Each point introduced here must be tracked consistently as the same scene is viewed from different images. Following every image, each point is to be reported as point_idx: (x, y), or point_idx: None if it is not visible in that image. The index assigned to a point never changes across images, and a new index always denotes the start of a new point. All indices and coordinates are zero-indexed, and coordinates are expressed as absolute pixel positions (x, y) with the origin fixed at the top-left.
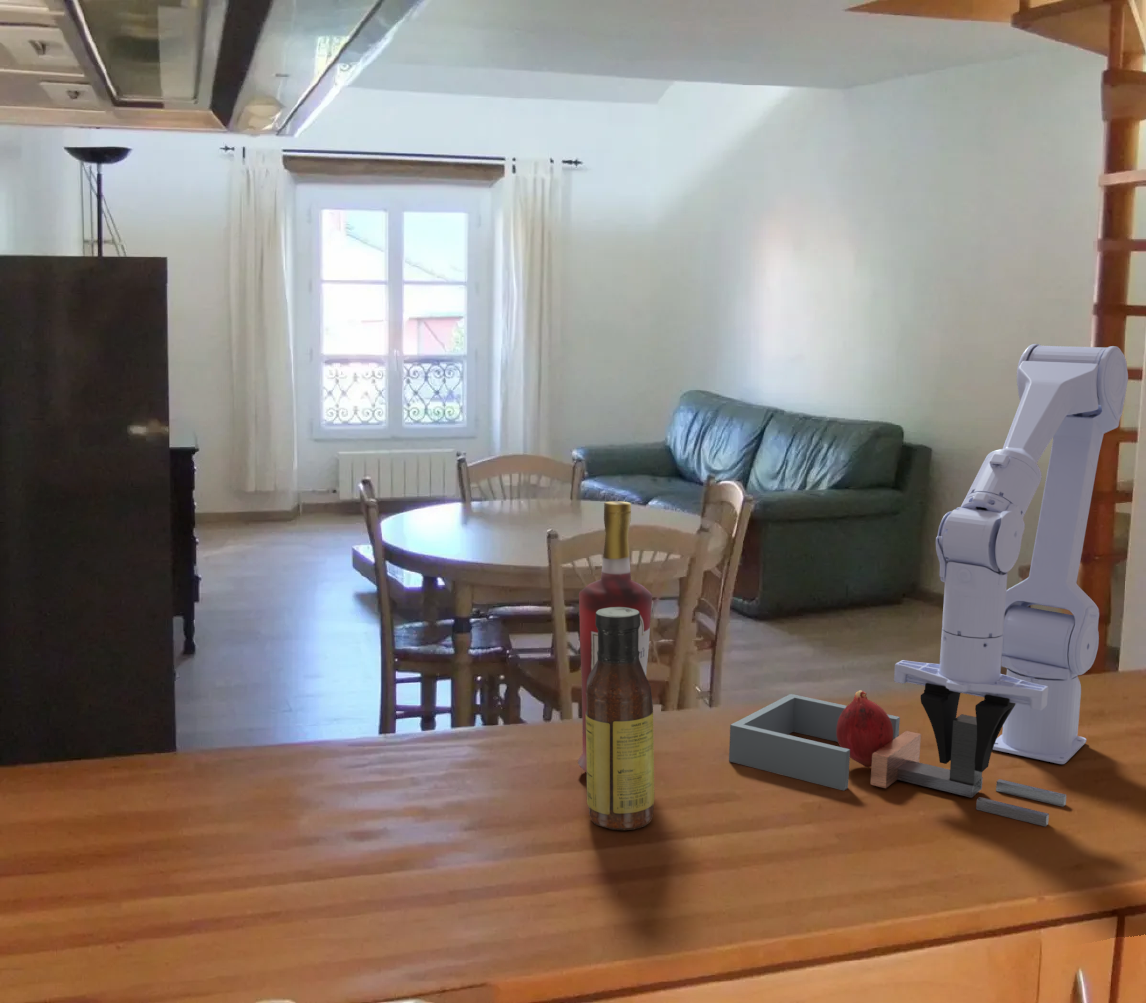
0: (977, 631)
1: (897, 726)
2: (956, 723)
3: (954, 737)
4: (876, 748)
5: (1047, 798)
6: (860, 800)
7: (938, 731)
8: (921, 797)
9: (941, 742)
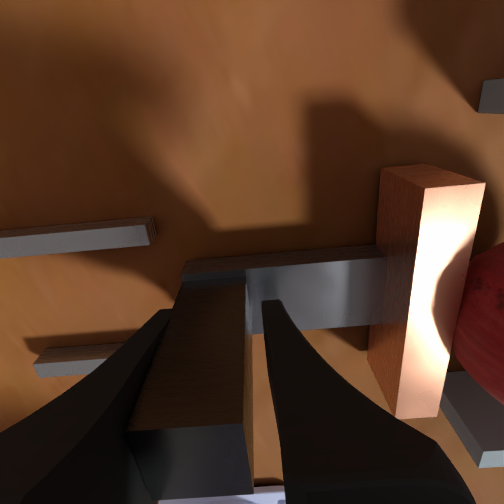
0: None
1: (466, 437)
2: (226, 411)
3: (235, 361)
4: (481, 268)
5: (72, 354)
6: (417, 45)
7: (296, 355)
8: (287, 196)
9: (279, 331)
